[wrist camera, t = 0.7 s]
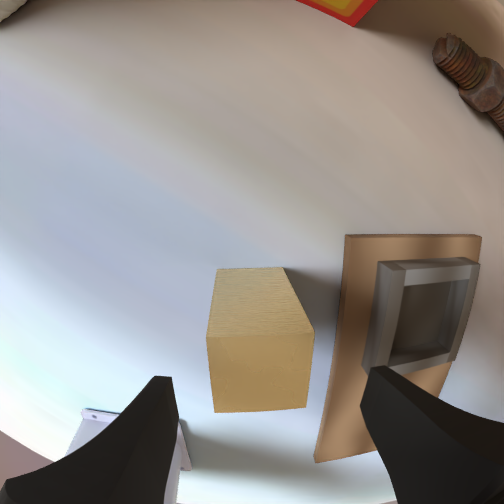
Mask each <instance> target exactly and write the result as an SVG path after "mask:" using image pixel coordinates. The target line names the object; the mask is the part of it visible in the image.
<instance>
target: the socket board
mask: <svg viewBox="0 0 504 504" xmlns="http://www.w3.org/2000/svg"><path fill="white" fill-rule="evenodd" d="M481 240H482V237H480V236H477V235H473V234H356V235H345V246H344V260H343V273H342V284H341V295H340V304H339V313H338V322H337V330H336V337H335V345H334V352H333V358H332V365H331V371H330V377H329V383H328V389H327V394H326V400H325V405H324V410H323V415H322V420H321V425H320V429H319V434H318V438H317V443H316V447H315V451H314V460H315V463H320V462H326V461H331V460H337V459H342V458H346V457H351V456H355V455H360V454H364V453H368V452H372V451H376V450H377V448H376V446H375V444H374V442H373V440H372V438H371V436H370V434H369V432H368V430H367V428H366V425H365V422H364V419H363V416H362V412H361V409H360V403H361V400H362V396H363V393H364V390H365V386H366V383H367V379H368V376H369V372H370V368H371V367H376V366H382V365H385V366H387V367H389V368H391V369H392V370H394V371H395V372H397V373H398V374H400V375H402V376H403V377H405V378H406V379H408V380H409V381H411V382H412V383H414V384H415V385H417V386H419V387H420V388H422V389H423V390H425V391H427V392H428V393H430V394H432V395H433V396H435V397H437V398H438V396H439V394H440V391H441V389H442V387H443V384H444V382H445V379H446V377H447V374H448V371H449V369H450V366H451V363H452V361H455V359H456V356H457V353H458V350H459V347H460V344H461V341H462V338H463V335H464V331H465V328H466V325H467V321H468V317H469V314H470V310H471V306H472V302H473V298H474V293H475V289H476V284H477V280H478V275H479V269H480V264H479V263H478V260H479V254H480V247H481Z"/></svg>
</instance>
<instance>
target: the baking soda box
mask: <svg viewBox="0 0 504 504" xmlns="http://www.w3.org/2000/svg"><path fill="white" fill-rule="evenodd" d="M296 1H299V2H301V3H304V4H306V5H308V6H311V7H313V8H315V9H318V10H320V11H322V12H324V13H326V14H328V15H331V16H333V17H335V18H337V19H339V20H341V21H343V22H345V23H347V24H348V25H350V26H352V27H354V26H355V25H356V24H357V22H358V21H359V20H360V19H361V18H362V17H363V16H364V15H365V14H366V13H367V12H368V11H369V10H370V9H371V7H372V6H373V5H374V4H375V3H376V2H377V1H378V0H296Z"/></svg>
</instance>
